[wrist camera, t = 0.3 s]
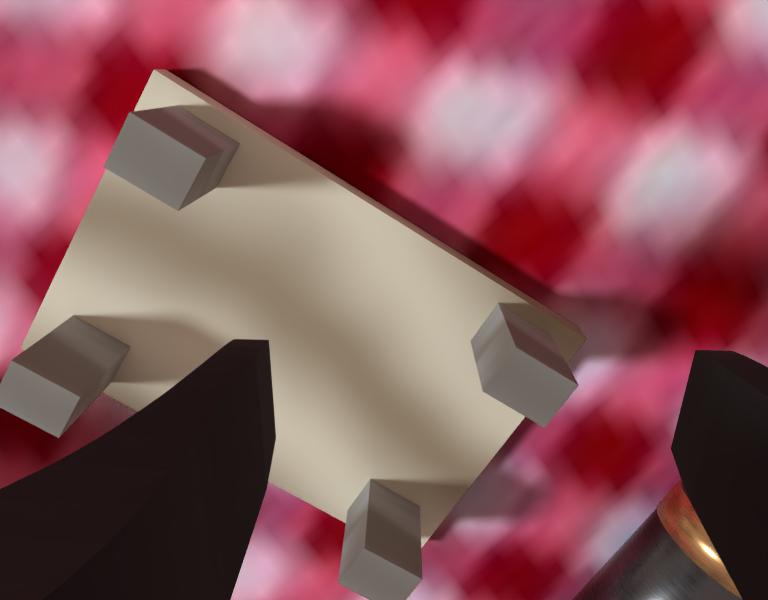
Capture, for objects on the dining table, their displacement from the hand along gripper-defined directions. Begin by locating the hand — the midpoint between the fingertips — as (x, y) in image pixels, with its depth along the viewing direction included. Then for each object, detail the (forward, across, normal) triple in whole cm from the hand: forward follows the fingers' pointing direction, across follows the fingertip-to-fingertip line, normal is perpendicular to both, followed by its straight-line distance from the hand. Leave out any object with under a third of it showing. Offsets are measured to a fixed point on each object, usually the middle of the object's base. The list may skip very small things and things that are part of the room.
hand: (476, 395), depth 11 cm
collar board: (+10, +4, +4) cm, 11 cm away
